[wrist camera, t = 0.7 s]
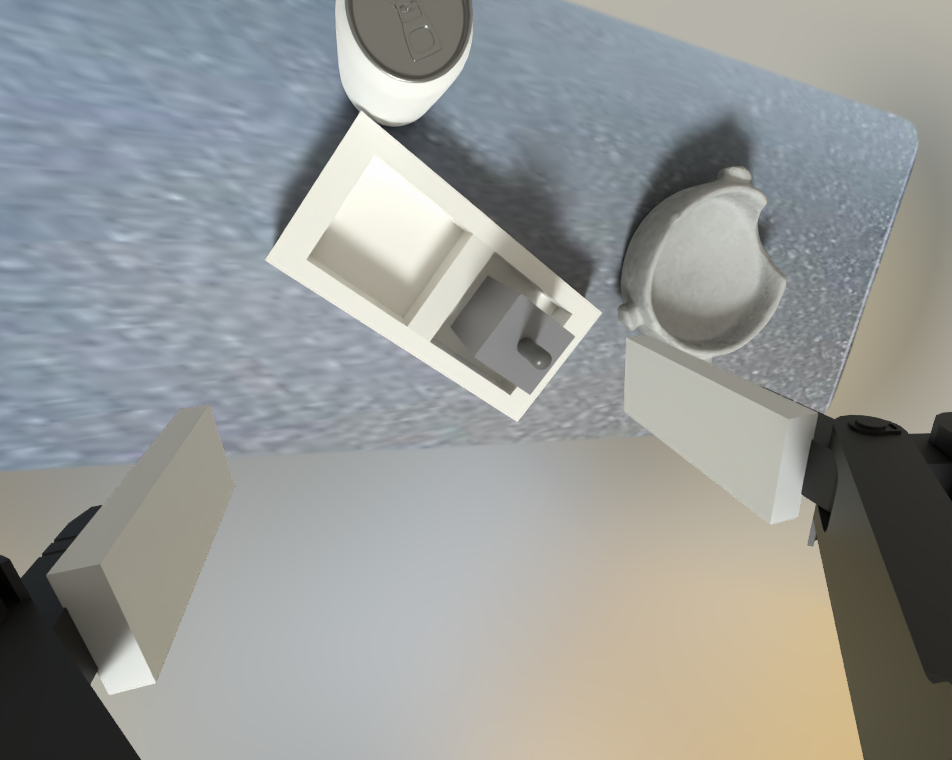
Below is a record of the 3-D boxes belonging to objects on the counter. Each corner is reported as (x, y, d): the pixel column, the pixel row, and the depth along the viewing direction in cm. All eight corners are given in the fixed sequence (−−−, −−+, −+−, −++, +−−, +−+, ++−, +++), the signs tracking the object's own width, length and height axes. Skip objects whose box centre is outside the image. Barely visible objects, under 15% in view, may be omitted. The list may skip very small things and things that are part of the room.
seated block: (450, 327, 38) (486, 372, 28) (487, 275, 38) (537, 303, 28) (497, 359, 40) (546, 412, 30) (533, 311, 40) (596, 349, 30)
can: (410, -3, 31) (445, -112, 20) (453, 104, 34) (503, 58, 23) (319, 39, 30) (303, -49, 20) (369, 144, 33) (379, 117, 22)
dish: (695, 147, 39) (741, 140, 35) (775, 261, 45) (824, 268, 40) (575, 285, 41) (603, 296, 36) (667, 378, 46) (702, 398, 42)
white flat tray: (272, 254, 34) (265, 260, 31) (359, 119, 32) (361, 110, 29) (504, 405, 43) (517, 421, 40) (582, 304, 41) (601, 312, 38)
